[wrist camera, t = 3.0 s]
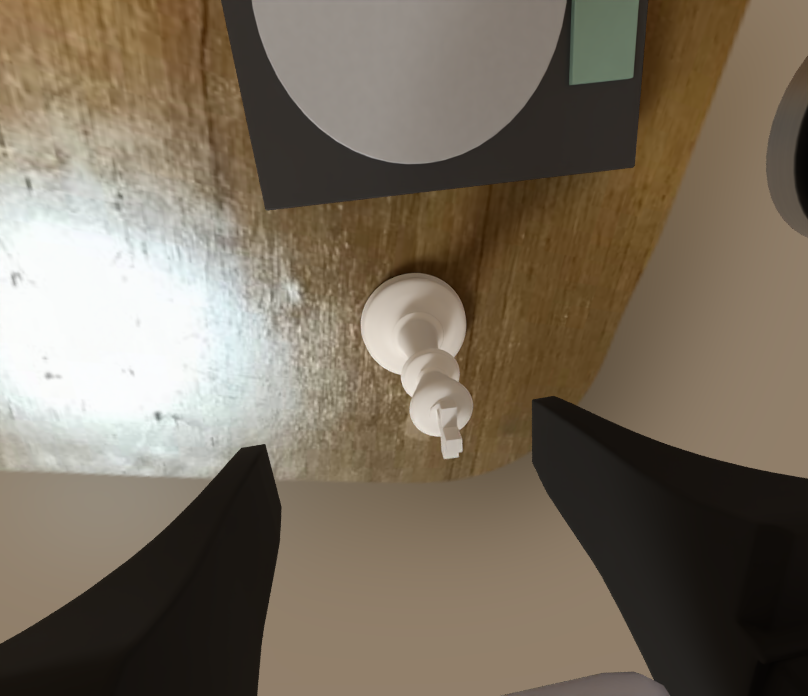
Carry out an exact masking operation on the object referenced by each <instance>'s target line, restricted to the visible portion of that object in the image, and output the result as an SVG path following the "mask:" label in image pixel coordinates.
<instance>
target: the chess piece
mask: <svg viewBox="0 0 808 696" xmlns="http://www.w3.org/2000/svg"><path fill="white" fill-rule="evenodd" d="M361 333H362V337H363V340H364V343H365V345H366V347H367V349H368V351H369V353H370V354H371V356H372V357H373V358H374V360H375V361H376V362H377V363H378V364H380V365H381V366H382V367H384V368H385V369H387V370H389V371H391V372H393V373H396V374H400V375H401V381H402V385H403V387H404V389H405V391H406V392H407V393H408V394H409V395H410V396H411V397H412V399H411V403H410V416H411V419H412V421H413V423H414V425H415V426H416V427H417V428H418V429H419V430H420V431H422V432H424V433H425V434H428V435H431V436H441V449H442V454H443V457H444V459H448V458H456V457H459V453H458V452H462V437H461V435H460V432H459V430H460V429H462V428H463V427H464V426H465V425H466V424H467V422H468V421H469V419H470V417H471V415H472V411H473V401H472V397H471V395H470V393H469V391H468V390H467V389H466V388H465V387H464V386H463V385H462V384H461V383H459V377H460V370H459V366H458V363H457V361H456V360H455V359H454V357H455V355H456V354H457V353H458V351H459V349H460V348H461V346H462V343H463V341H464V338H465V334H466V316H465V311H464V307H463V304H462V302H461V300H460V298H459V296H458V295H457V293H456V292H455V291H454V290H453V289H452V287H450V286H449V285H448V284H447V283H446V282H444V281H443V280H441V279H439V278H437V277H434V276H431V275H428V274H422V273H408V274H403V275H399V276H396V277H393V278H391V279H389V280H387V281H386V282H384V283H383V284H381V285H380V286H379V287H378V288H377V289H376V290H375V291H374V292H373V293H372V294H371V296H370V297H369V299H368V300H367V302H366V304H365V306H364V309H363V312H362V317H361Z"/></svg>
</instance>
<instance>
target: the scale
mask: <svg viewBox="0 0 808 696" xmlns="http://www.w3.org/2000/svg"><path fill="white" fill-rule="evenodd" d="M221 2H222V7H223V12H224V16H225V21H226V26H227V31H228V35H229V40H230V45H231V49H232V54H233V59H234V64H235V68H236V73H237V78H238V82H239V87H240V92H241V97H242V101H243V106H244V111H245V115H246V120H247V125H248V130H249V134H250V139H251V144H252V148H253V153H254V158H255V163H256V167H257V172H258V177H259V182H260V186H261V191H262V196H263V200H264V205H265V209H266V210H276V209H284V208H293V207H301V206H310V205H318V204H327V203H335V202H344V201H352V200H361V199H369V198H378V197H386V196H395V195H403V194H412V193H420V192H429V191H438V190H446V189H455V188H463V187H472V186H480V185H489V184H497V183H506V182H514V181H523V180H531V179H540V178H548V177H557V176H565V175H574V174H582V173H591V172H599V171H608V170H616V169H625V168H633V167H634V166H635V154H636V142H637V130H638V118H639V106H640V94H641V82H642V70H643V58H644V46H645V34H646V21H647V9H648V0H221Z"/></svg>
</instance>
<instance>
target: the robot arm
mask: <svg viewBox="0 0 808 696" xmlns="http://www.w3.org/2000/svg"><path fill="white" fill-rule="evenodd" d="M532 462H533V465H534V467H535V469H536V471H537V473H538V475H539V478H540V480H541V481H542V484H543V486H544V487H545V490H546V492H547V493H548V495H549V497H550V498H551V499H552V501H553V503H554V504H555V506H556V507H557V509H558V510H559V512H560V513H561V515H562V517H563V518H564V519H565V521H566V522H567V524H568V525H569V527H570V528H571V530H572V531H573V533H574V534H575V536H576V537H577V539H578V540H579V542H580V543H581V545H582V546H583V548H584V549H585V551H586V552H587V554H588V555H589V557H590V558H591V560H592V561H593V563H594V565H595V566H596V568H597V570H598V571H599V573H600V574H601V576H602V577H603V579H604V582H605V583H606V585H607V587H608V589H609V591H610V593H611V595H612V597H613V599H614V600H615V602H616V604H617V606H618V608H619V610H620V612H621V614H622V616H623V618H624V619H625V621H626V623H627V626H628V627H629V630H630V631H631V634H632V636H633V638H634V640H635V642H636V644H637V645H638V647H639V650H640V652H641V654H642V655H643V658H644V660H645V662H646V664H647V666H648V668H649V670H650V673H651V675H652V677H653V679H654V680H652V679H650V678H648V677H646V676H644V675H642V674H639V673H636V672H614V673H600V674H596V675H591V676H587V677H582V678H578V679H574V680H569V681H564V682H560V683H555V684H551V685H546V686H542V687H538V688H533V689H529V690H524V691H520V692H515V693H511V694H507V695H502V696H808V479H807V478H800V477H795V476H789V475H784V474H778V473H772V472H768V471H762V470H758V469H753V468H748V467H744V466H740V465H736V464H732V463H728V462H724V461H720V460H716V459H712V458H709V457H705V456H701V455H698V454H695V453H692V452H689V451H685V450H682V449H679V448H676V447H673V446H670V445H667V444H664V443H661V442H659V441H656V440H654V439H651V438H649V437H646V436H644V435H641V434H638V433H636V432H633V431H631V430H629V429H626V428H624V427H622V426H619V425H617V424H615V423H613V422H610V421H608V420H606V419H604V418H601V417H600V416H597V415H595V414H593V413H591V412H589V411H586V410H585V409H582V408H580V407H578V406H576V405H574V404H572V403H570V402H567V401H565V400H563V399H560V398H558V397H555V396H551V397H545V398H539V399H533V400H532ZM280 528H281V503H280V499H279V496H278V492H277V488H276V484H275V480H274V476H273V472H272V468H271V464H270V461H269V457H268V453H267V449H266V445H265V444H262V445H256V446H250V447H244V448H241V449H240V450H239V451H238V452H237V453H236V454H235V455H234V456H233V458H232V459H231V460H230V461H229V462H228V463H227V464H226V465H225V467H224V468H223V469H222V470H221V471H220V472H219V473H218V475H217V476H216V477H215V478H214V479H213V480H212V481H211V482H210V483H209V485H208V486H207V487H206V488H205V489H204V490H203V491H202V492H201V494H199V495H198V497H197V498H196V499H195V500H194V501H193V502H192V503H191V504H190V505H189V506H188V507H187V508H186V509H185V510H184V511H183V512H182V513H181V514H180V515H179V516H178V517H177V518H176V519H175V520H174V521H173V522H172V523H171V524H170V525H169V526H167V527H166V528H165V529H164V530H163V531H162V532H161V533H160V534H159V535H158V536H156V537H155V538H154V539H153V540H152V541H151V542H149V543H148V544H147V545H146V546H145V547H144V548H142V549H141V550H140V551H139V552H138V553H136V554H135V555H134V556H133V557H131V558H130V559H129V560H128V561H126V562H125V563H124V564H122V565H121V566H120V567H118V568H117V569H116V570H114V571H113V572H112V573H110V574H109V575H107V576H106V577H105V578H103V579H102V580H101V581H99V582H98V583H97V584H95V585H94V586H93V587H91V588H90V589H88V590H87V591H86V592H84V593H83V594H81V595H80V596H78V597H77V598H75V599H74V600H72V601H71V602H69V603H68V604H66V605H65V606H63V607H61V608H60V609H58V610H57V611H55V612H54V613H52V614H50V615H49V616H47V617H46V618H44V619H42V620H41V621H39V622H38V623H36V624H34V625H33V626H31V627H29V628H28V629H26V630H24V631H22V632H21V633H19V634H17V635H15V636H14V637H12V638H10V639H9V640H6V641H5V642H3V643H1V644H0V696H257V690H258V679H259V667H260V656H261V645H262V638H263V631H264V624H265V619H266V614H267V609H268V603H269V597H270V593H271V587H272V582H273V577H274V571H275V566H276V560H277V554H278V549H279V543H280Z"/></svg>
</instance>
